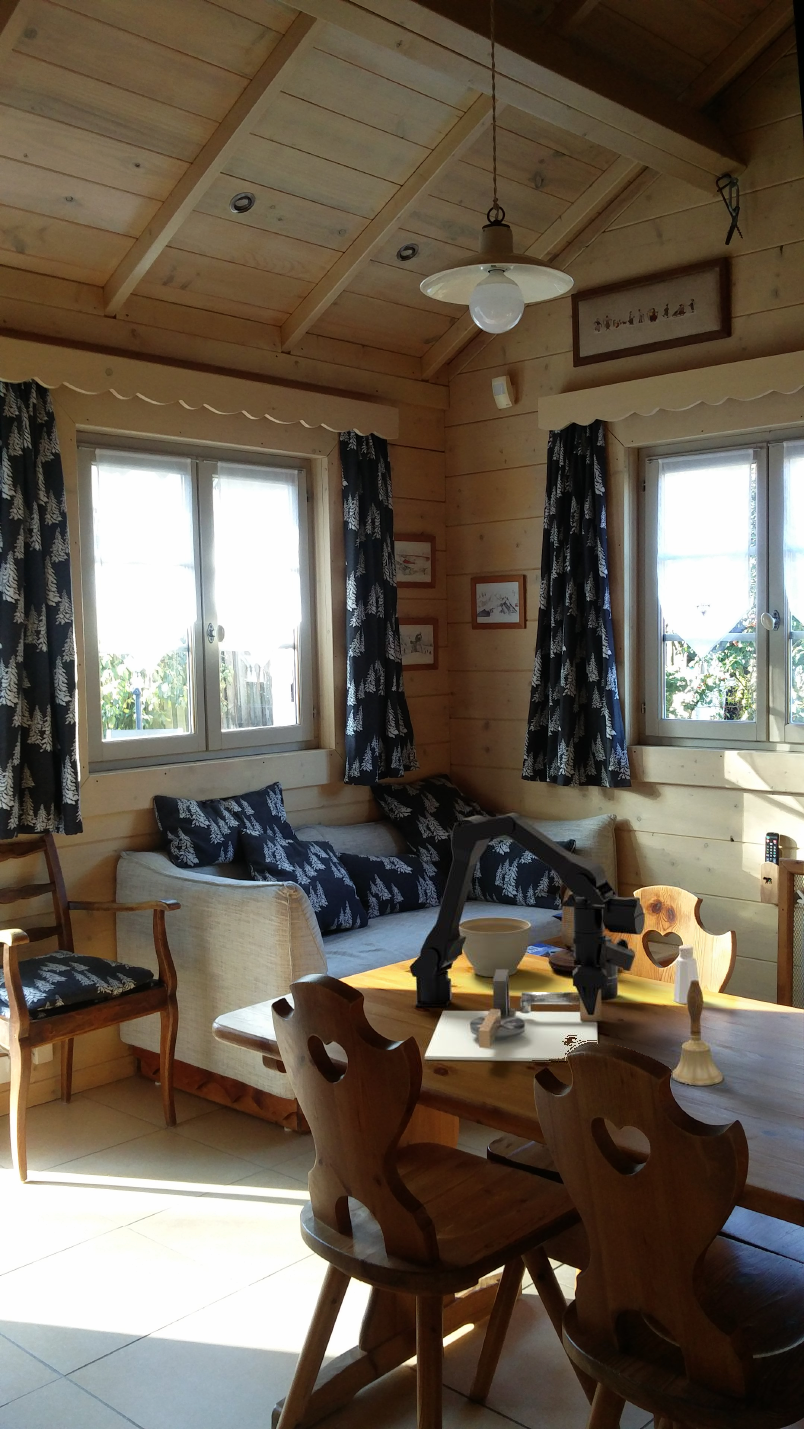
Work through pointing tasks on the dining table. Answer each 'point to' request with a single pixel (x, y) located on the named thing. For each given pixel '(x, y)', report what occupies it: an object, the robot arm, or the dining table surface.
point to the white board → (532, 1044)
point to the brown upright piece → (565, 937)
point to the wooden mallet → (560, 1002)
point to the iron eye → (502, 992)
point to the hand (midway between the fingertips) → (590, 1011)
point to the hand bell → (696, 1047)
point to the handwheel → (496, 1027)
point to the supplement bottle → (610, 980)
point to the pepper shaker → (684, 973)
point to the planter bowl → (495, 943)
